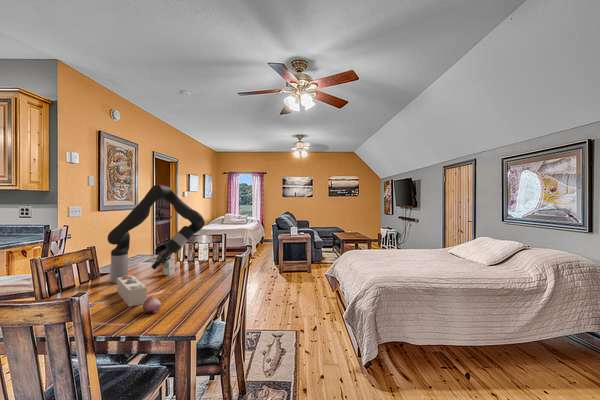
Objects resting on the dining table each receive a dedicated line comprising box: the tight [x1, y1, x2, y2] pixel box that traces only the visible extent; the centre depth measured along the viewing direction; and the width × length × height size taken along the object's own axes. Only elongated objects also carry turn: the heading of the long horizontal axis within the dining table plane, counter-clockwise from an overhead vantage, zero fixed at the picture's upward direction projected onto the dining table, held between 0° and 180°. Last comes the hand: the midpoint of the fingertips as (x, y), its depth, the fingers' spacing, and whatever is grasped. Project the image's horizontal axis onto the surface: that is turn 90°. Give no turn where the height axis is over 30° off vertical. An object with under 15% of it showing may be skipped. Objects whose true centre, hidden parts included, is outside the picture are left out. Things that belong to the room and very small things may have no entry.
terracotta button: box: [123, 274, 132, 280], centre depth 170 cm, size 4×4×2 cm
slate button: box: [127, 279, 135, 284], centre depth 162 cm, size 4×4×2 cm
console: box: [116, 275, 148, 307], centre depth 162 cm, size 30×8×8 cm, turn 41°
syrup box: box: [162, 253, 176, 277], centre depth 209 cm, size 6×6×14 cm
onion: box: [142, 296, 162, 314], centre depth 141 cm, size 8×8×7 cm
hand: (152, 268), depth 158 cm, fingers closed
